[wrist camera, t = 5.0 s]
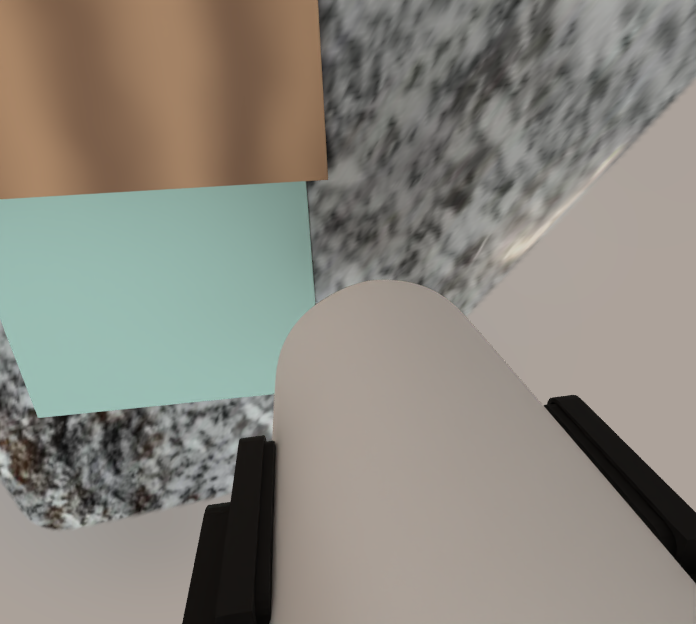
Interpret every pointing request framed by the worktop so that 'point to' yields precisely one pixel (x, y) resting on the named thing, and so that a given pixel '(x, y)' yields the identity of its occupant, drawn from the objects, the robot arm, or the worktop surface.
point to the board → (158, 95)
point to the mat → (153, 293)
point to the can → (441, 483)
